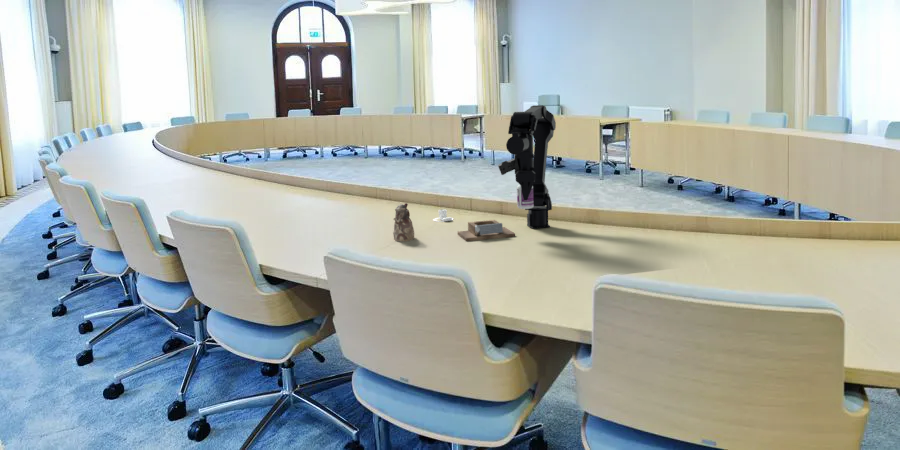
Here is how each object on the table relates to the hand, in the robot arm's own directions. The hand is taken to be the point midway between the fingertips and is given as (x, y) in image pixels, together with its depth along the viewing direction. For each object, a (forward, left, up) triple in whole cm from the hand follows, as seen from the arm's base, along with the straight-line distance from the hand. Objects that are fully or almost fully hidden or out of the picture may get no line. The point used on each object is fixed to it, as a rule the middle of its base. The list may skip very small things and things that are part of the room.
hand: (525, 198), depth 226 cm
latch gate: (+12, -4, -11) cm, 17 cm away
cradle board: (+11, -8, -13) cm, 19 cm away
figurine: (+38, -14, -13) cm, 43 cm away
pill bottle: (0, 0, -3) cm, 3 cm away
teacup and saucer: (+21, -38, -14) cm, 46 cm away
